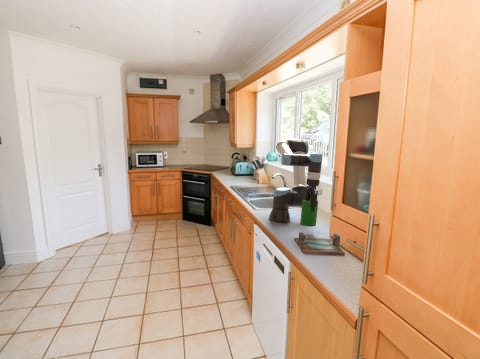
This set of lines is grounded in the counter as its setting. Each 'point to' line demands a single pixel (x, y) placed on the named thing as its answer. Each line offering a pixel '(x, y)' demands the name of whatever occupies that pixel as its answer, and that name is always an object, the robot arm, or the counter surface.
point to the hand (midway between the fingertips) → (309, 214)
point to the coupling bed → (319, 245)
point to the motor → (308, 214)
